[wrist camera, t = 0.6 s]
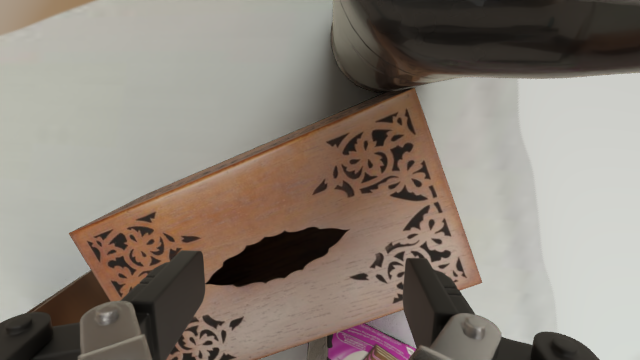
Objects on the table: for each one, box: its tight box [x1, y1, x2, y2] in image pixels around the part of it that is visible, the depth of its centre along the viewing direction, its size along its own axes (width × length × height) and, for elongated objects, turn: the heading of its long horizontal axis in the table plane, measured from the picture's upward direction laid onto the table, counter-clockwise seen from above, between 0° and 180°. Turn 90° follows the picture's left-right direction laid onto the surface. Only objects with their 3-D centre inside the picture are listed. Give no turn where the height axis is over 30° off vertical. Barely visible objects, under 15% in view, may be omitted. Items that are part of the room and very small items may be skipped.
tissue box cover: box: [69, 88, 482, 360], centre depth 29 cm, size 26×14×10 cm, turn 113°
